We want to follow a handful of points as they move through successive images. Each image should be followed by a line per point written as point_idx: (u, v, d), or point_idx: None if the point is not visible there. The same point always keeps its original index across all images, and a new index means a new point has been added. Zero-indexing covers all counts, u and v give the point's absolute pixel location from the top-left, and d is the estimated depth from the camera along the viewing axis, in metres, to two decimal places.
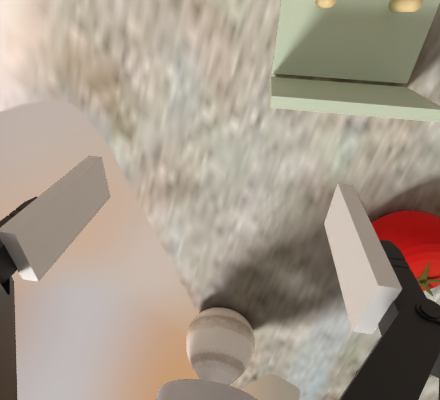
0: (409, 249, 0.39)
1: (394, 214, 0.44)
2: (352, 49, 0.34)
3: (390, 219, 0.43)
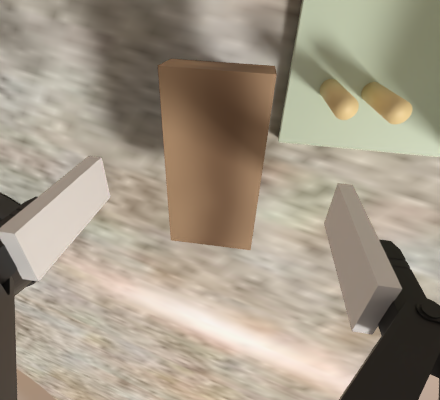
0: None
1: None
2: None
3: None
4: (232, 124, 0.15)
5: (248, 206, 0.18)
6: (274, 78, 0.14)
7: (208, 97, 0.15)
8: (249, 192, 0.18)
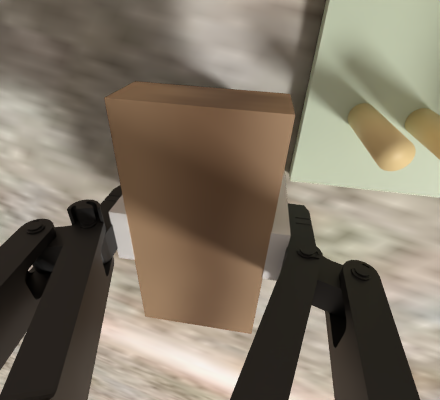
0: None
1: None
2: None
3: None
4: (224, 184, 0.10)
5: (248, 286, 0.13)
6: (291, 120, 0.08)
7: (186, 145, 0.09)
8: (250, 270, 0.12)
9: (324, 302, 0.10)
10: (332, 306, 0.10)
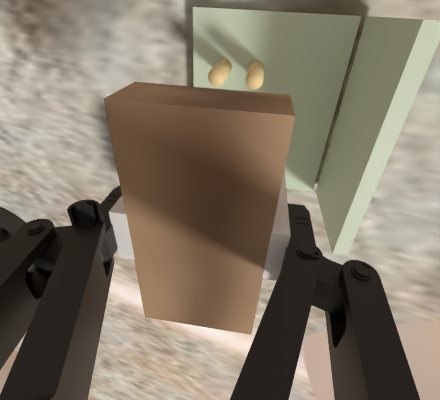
0: None
1: None
2: (300, 108, 0.27)
3: None
4: (224, 185, 0.10)
5: (248, 287, 0.13)
6: (291, 121, 0.08)
7: (186, 146, 0.09)
8: (250, 271, 0.12)
9: (324, 302, 0.10)
10: (332, 306, 0.10)
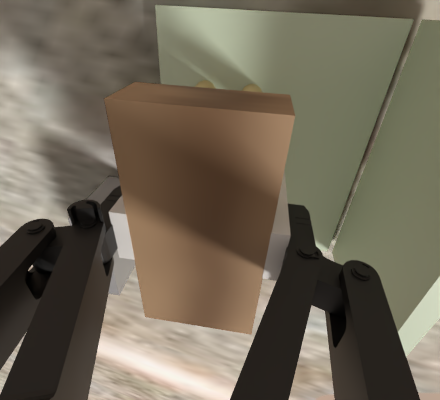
0: None
1: None
2: (313, 149, 0.19)
3: None
4: (224, 185, 0.10)
5: (248, 286, 0.13)
6: (291, 121, 0.08)
7: (186, 146, 0.09)
8: (250, 271, 0.12)
9: (324, 302, 0.10)
10: (332, 305, 0.10)
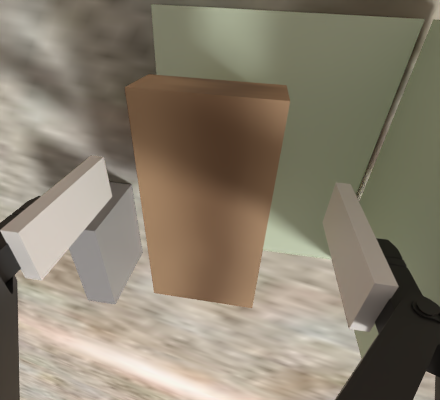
0: None
1: None
2: (317, 154, 0.18)
3: None
4: (229, 164, 0.11)
5: (249, 261, 0.14)
6: (287, 106, 0.10)
7: (195, 129, 0.11)
8: (251, 245, 0.14)
9: None
10: None
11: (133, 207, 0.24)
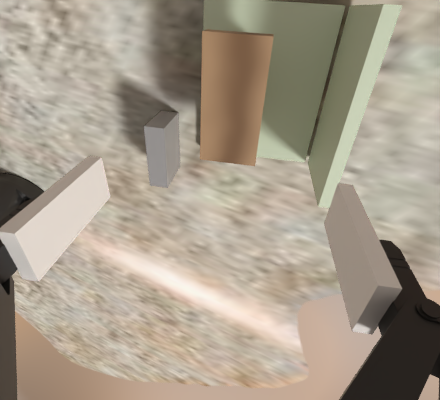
0: None
1: None
2: (293, 85, 0.32)
3: None
4: (246, 70, 0.25)
5: (254, 130, 0.27)
6: (272, 39, 0.23)
7: (231, 51, 0.24)
8: (255, 119, 0.27)
9: None
10: None
11: (178, 129, 0.37)
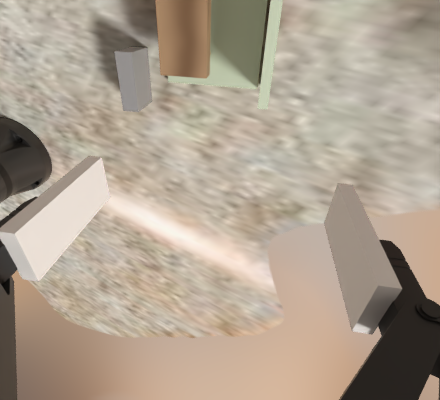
0: None
1: None
2: (240, 15, 0.37)
3: None
4: None
5: (202, 43, 0.33)
6: None
7: None
8: (201, 32, 0.33)
9: None
10: None
11: (147, 63, 0.43)
